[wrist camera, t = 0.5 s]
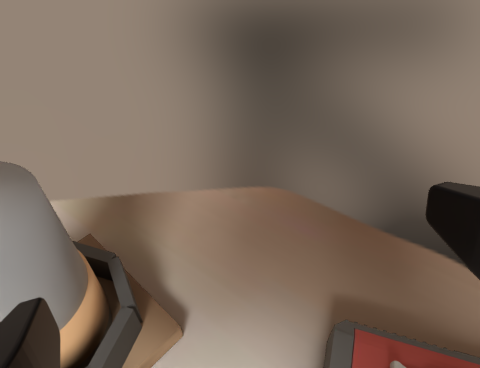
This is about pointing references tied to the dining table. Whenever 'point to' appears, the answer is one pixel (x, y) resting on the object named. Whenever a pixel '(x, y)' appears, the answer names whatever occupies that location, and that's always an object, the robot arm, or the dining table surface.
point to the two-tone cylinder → (48, 268)
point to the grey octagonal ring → (128, 318)
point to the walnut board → (153, 316)
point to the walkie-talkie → (387, 350)
